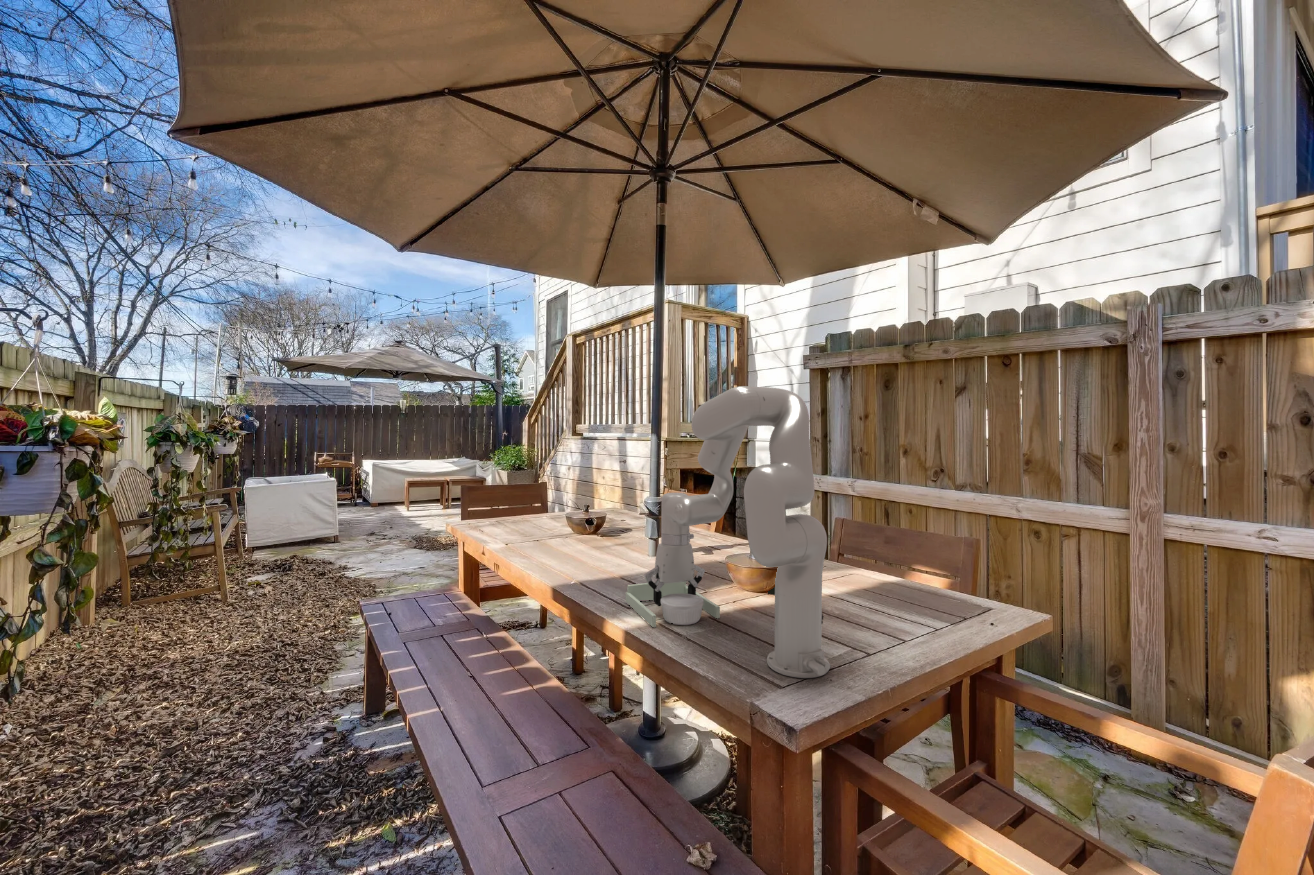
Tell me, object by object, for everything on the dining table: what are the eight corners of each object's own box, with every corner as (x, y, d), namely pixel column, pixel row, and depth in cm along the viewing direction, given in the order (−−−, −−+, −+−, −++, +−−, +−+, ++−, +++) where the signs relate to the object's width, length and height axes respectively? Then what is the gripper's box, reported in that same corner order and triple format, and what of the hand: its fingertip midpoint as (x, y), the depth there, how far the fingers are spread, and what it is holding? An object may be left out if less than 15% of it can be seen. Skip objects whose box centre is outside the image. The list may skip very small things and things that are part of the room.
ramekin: (703, 612, 147) (703, 593, 147) (703, 628, 136) (703, 606, 136) (662, 611, 149) (662, 592, 148) (658, 626, 137) (658, 605, 137)
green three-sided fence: (719, 618, 143) (719, 599, 143) (652, 627, 136) (652, 607, 136) (686, 595, 163) (686, 578, 163) (625, 602, 156) (625, 585, 156)
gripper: (698, 534, 153) (697, 595, 154) (640, 538, 147) (639, 602, 147) (710, 539, 146) (710, 603, 147) (650, 544, 140) (649, 611, 140)
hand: (674, 602), depth 147 cm, fingers open, 9 cm apart
